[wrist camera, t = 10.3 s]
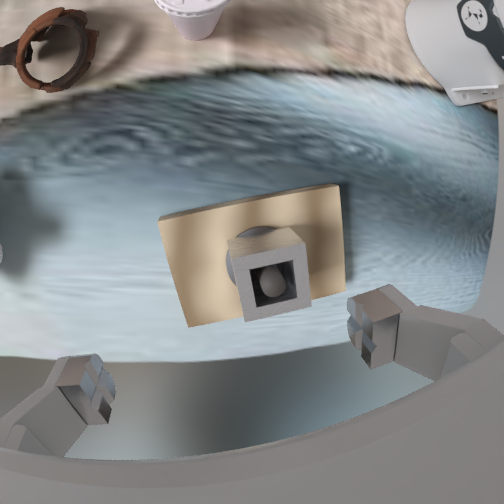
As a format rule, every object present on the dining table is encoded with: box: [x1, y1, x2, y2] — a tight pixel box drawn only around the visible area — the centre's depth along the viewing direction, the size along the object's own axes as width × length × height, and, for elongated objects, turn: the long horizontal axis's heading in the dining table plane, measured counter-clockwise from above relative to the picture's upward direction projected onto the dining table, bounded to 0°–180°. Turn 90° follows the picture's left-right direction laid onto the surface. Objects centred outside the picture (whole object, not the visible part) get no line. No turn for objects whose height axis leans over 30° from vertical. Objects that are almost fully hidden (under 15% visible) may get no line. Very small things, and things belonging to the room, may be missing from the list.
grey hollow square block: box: [227, 227, 311, 322], centre depth 27 cm, size 6×6×5 cm
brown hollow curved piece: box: [0, 7, 99, 93], centre depth 19 cm, size 12×10×8 cm
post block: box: [157, 183, 346, 328], centre depth 28 cm, size 18×12×8 cm, turn 100°
